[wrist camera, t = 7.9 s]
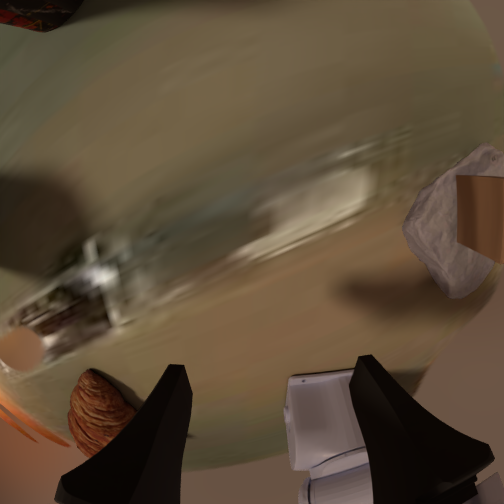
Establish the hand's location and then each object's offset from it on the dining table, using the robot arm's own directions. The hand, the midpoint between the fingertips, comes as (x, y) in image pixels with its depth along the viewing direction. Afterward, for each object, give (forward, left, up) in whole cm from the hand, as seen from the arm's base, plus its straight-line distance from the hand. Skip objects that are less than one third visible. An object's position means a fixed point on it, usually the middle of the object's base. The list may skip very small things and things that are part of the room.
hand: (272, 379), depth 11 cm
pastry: (-20, -23, -10) cm, 32 cm away
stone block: (+17, +4, -10) cm, 20 cm away
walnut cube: (+15, +6, -6) cm, 17 cm away
